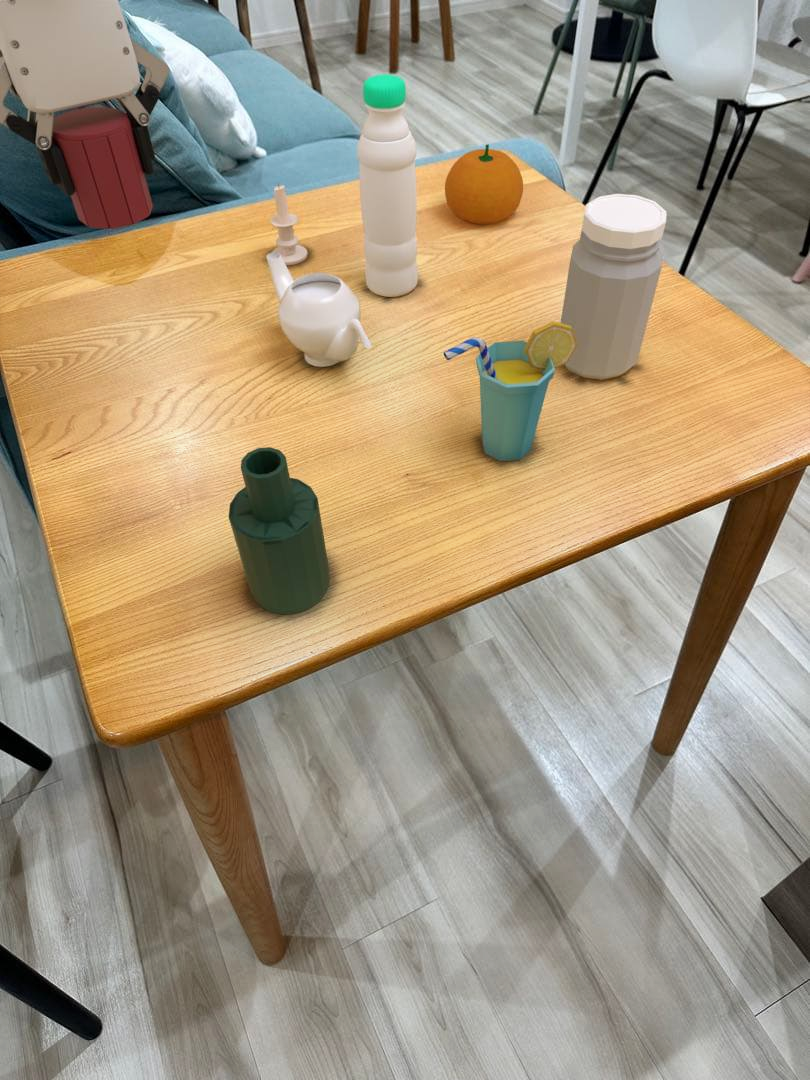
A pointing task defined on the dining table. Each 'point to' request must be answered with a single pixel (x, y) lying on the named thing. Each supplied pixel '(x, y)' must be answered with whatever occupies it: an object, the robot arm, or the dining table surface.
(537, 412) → the cup
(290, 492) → the green bottle
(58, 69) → the robot arm
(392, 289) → the water bottle
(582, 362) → the jar
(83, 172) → the grooved red cylinder
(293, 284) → the teapot
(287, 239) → the candle
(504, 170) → the fruit
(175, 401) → the dining table surface
